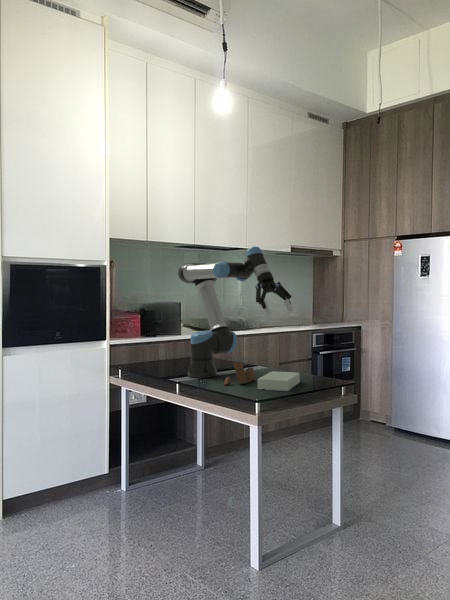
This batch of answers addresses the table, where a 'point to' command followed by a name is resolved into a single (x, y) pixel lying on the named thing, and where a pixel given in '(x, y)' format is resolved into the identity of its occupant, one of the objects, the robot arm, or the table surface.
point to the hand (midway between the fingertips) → (280, 313)
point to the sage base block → (279, 381)
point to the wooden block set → (242, 374)
